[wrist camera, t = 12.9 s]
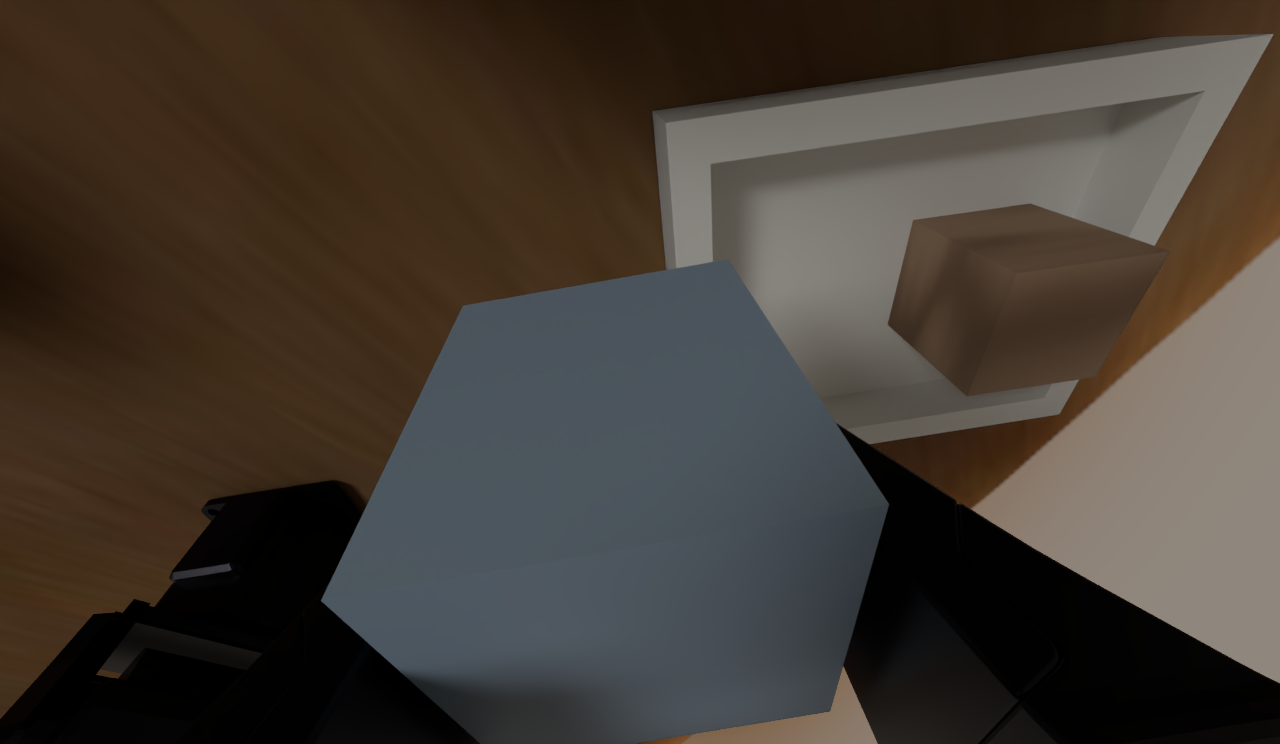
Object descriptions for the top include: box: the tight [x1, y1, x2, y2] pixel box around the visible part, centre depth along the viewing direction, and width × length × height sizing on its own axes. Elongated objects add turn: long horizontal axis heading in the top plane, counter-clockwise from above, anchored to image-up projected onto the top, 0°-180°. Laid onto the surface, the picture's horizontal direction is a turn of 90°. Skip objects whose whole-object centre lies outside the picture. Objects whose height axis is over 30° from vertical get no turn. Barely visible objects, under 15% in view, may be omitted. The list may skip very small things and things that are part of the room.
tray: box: [652, 34, 1273, 444], centre depth 18 cm, size 14×17×3 cm
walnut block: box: [888, 204, 1170, 396], centre depth 16 cm, size 4×4×5 cm
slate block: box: [321, 259, 889, 744], centre depth 7 cm, size 4×4×5 cm
